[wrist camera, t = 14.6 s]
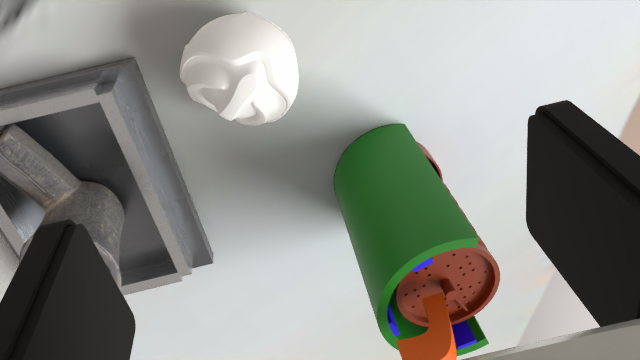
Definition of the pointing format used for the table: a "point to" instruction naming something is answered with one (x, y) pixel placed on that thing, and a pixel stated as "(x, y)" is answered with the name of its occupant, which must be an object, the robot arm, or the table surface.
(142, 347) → the table surface
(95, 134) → the cradle
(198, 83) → the white swirled ball
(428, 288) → the motor
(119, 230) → the pipe
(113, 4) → the table surface
